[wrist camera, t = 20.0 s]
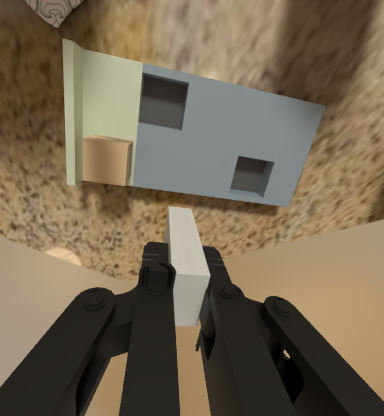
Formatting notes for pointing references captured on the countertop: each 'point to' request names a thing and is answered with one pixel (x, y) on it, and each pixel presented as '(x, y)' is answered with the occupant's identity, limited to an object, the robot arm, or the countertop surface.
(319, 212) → the countertop surface
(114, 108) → the board
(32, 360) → the robot arm
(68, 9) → the cookie jar
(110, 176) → the oak cube
